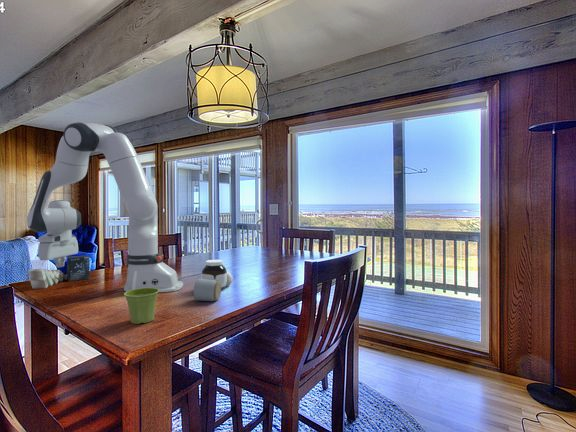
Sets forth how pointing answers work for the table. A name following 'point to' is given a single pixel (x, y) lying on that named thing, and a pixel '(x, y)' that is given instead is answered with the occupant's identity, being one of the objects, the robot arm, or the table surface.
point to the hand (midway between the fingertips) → (60, 267)
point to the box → (78, 268)
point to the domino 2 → (48, 278)
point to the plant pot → (141, 304)
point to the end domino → (61, 274)
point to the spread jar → (217, 273)
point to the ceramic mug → (207, 290)
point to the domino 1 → (38, 278)
